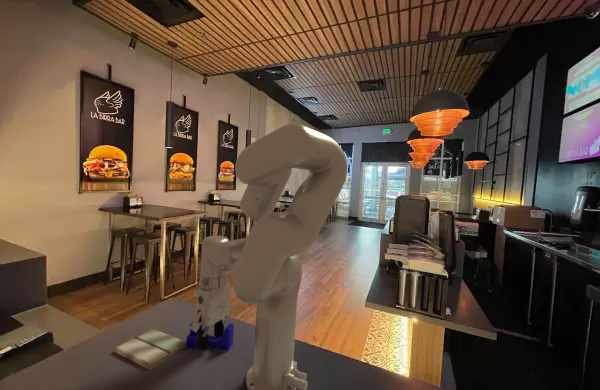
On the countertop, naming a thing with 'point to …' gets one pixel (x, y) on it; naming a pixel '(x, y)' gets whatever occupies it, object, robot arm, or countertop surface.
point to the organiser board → (150, 348)
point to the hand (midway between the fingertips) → (211, 341)
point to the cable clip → (213, 339)
